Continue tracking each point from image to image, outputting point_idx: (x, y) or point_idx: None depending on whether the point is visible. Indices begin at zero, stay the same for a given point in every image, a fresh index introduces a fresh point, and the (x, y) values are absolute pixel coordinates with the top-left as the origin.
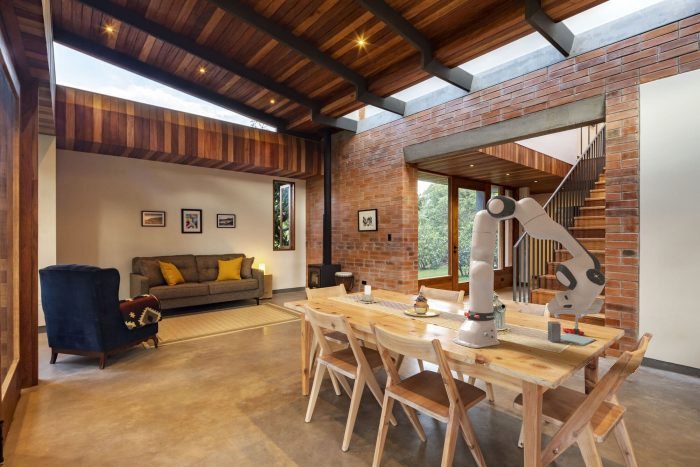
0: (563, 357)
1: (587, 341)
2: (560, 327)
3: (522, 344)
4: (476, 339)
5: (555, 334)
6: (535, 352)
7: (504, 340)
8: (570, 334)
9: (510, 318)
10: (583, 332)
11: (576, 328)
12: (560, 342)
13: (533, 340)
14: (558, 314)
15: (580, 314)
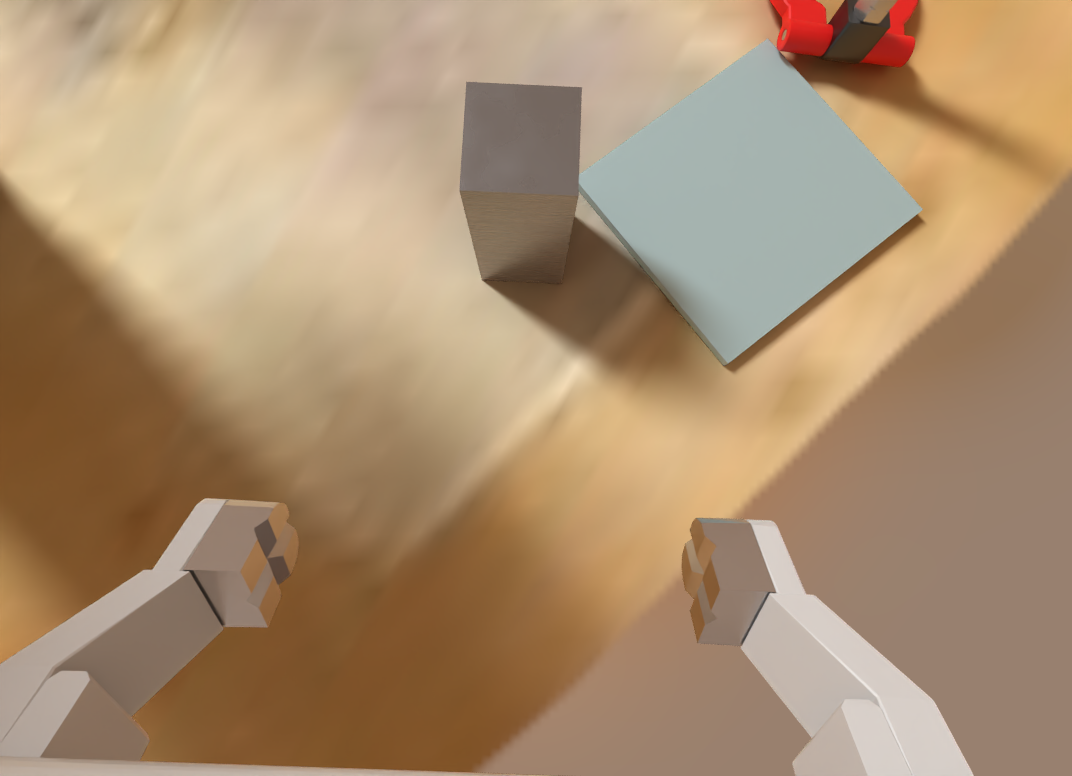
0: (352, 709)
1: (811, 282)
2: (573, 219)
3: (168, 349)
4: None
5: (513, 252)
6: None
7: (57, 236)
8: (767, 77)
9: None
10: (906, 54)
11: (865, 18)
12: (560, 283)
13: (337, 230)
14: (227, 602)
15: (756, 618)
